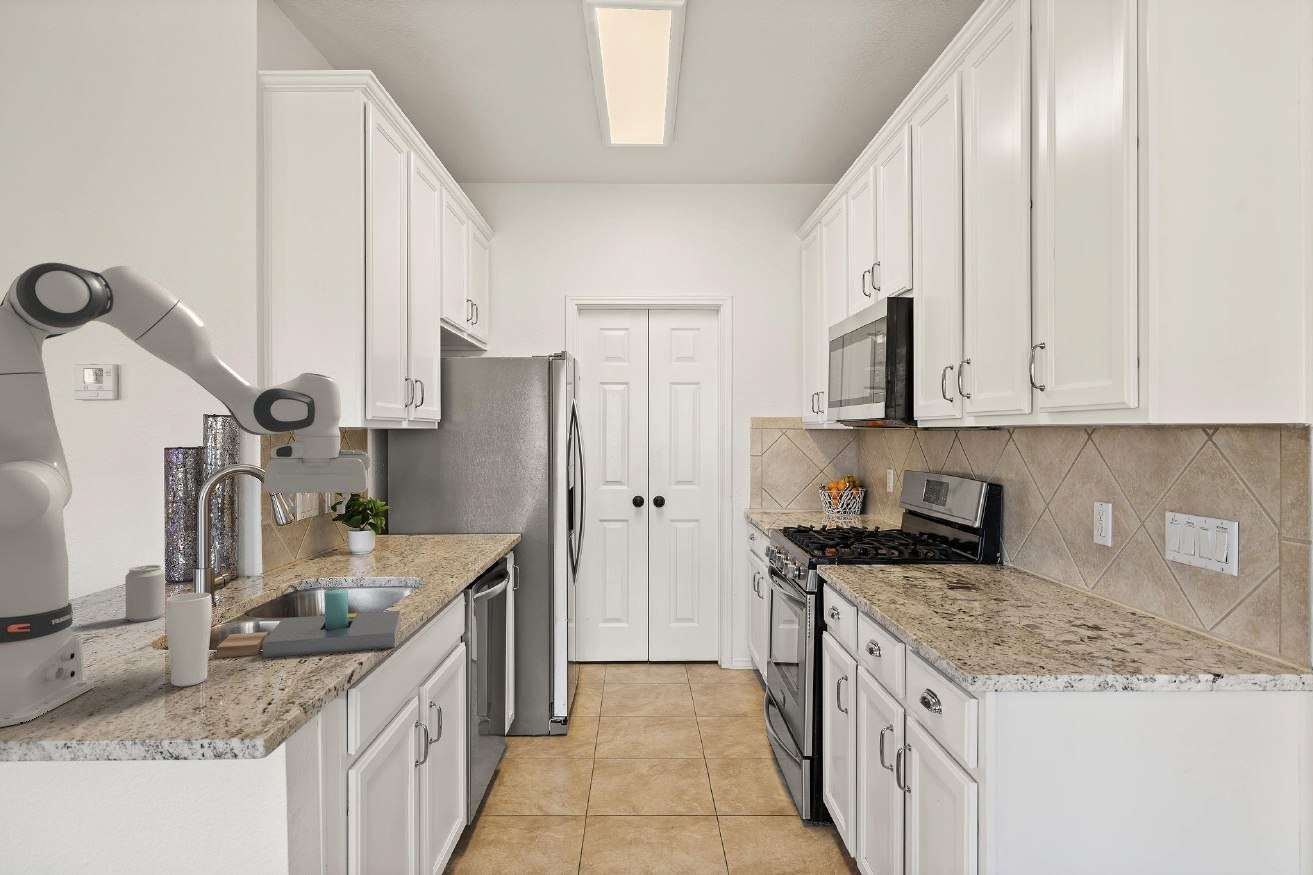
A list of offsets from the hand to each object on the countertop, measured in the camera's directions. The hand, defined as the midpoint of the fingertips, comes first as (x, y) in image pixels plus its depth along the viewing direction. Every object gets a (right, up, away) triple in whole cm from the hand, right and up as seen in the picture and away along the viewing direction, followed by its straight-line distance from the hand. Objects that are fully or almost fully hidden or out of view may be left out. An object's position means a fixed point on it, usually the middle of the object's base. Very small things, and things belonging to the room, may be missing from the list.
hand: (316, 513), depth 153 cm
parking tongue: (-10, -26, -11) cm, 30 cm away
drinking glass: (-8, -27, -29) cm, 40 cm away
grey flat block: (+6, -26, -4) cm, 27 cm away
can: (-46, -26, +12) cm, 54 cm away
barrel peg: (+6, -26, -4) cm, 27 cm away
